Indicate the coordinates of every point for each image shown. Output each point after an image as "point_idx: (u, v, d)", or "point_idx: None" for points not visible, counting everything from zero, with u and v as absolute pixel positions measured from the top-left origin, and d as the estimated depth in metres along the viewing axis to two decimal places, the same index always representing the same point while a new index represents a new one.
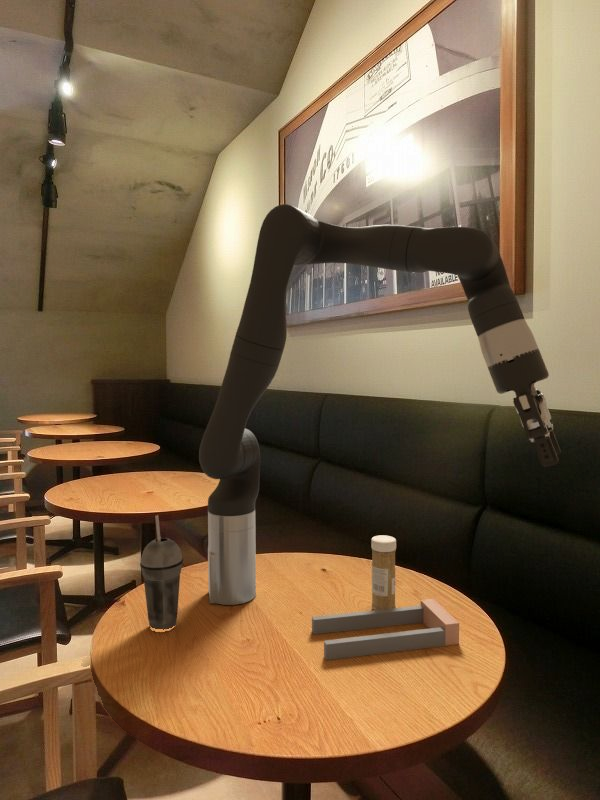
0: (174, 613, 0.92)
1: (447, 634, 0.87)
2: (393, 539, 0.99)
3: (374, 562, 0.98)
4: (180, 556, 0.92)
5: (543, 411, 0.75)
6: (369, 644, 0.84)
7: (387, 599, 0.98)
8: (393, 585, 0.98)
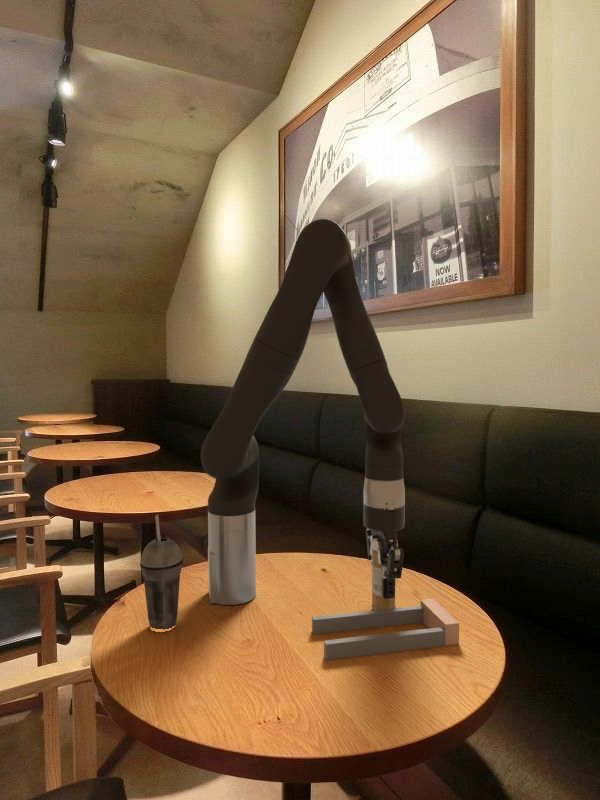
0: (174, 613, 0.92)
1: (447, 634, 0.87)
2: None
3: (374, 562, 0.98)
4: (180, 556, 0.92)
5: None
6: (369, 644, 0.84)
7: (387, 599, 0.98)
8: None
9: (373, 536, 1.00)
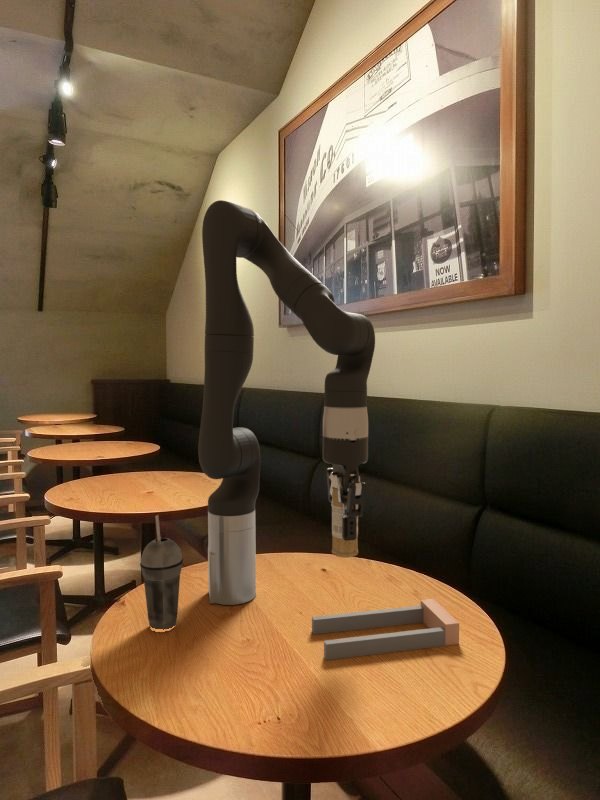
0: (174, 613, 0.92)
1: (447, 634, 0.87)
2: None
3: (334, 501, 0.88)
4: (180, 556, 0.92)
5: None
6: (369, 644, 0.84)
7: (348, 541, 0.88)
8: None
9: (333, 473, 0.90)
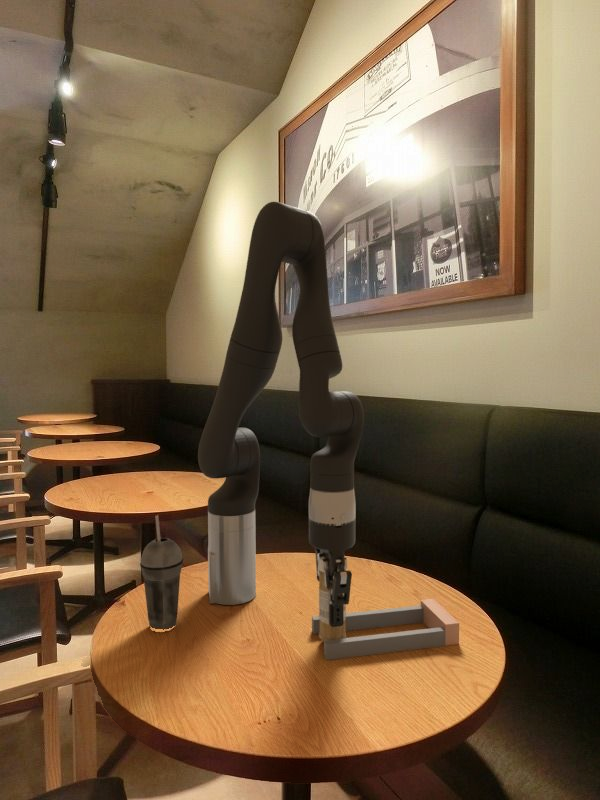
0: (174, 613, 0.92)
1: (447, 634, 0.87)
2: None
3: (321, 585, 0.86)
4: (180, 556, 0.92)
5: None
6: (369, 644, 0.84)
7: (335, 627, 0.85)
8: None
9: (320, 554, 0.87)
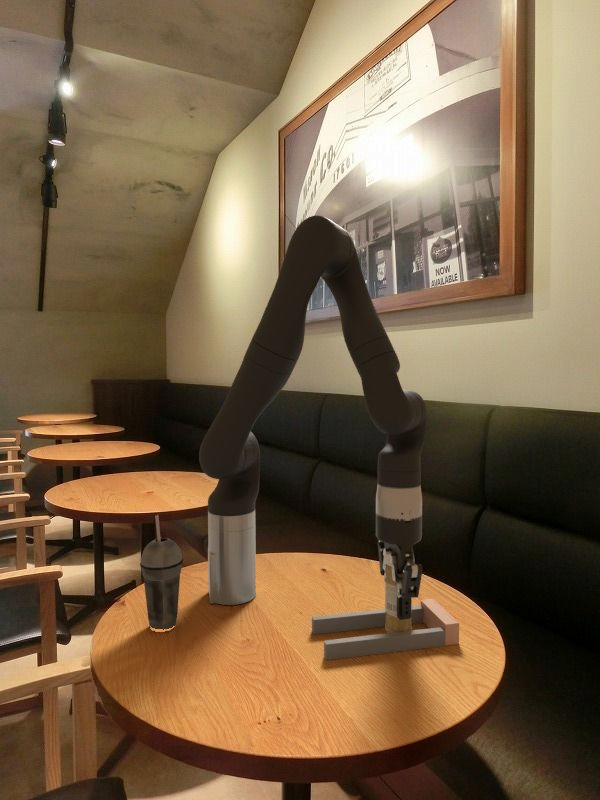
0: (174, 613, 0.92)
1: (447, 634, 0.87)
2: None
3: (388, 578, 0.88)
4: (180, 556, 0.92)
5: None
6: (369, 644, 0.84)
7: (402, 620, 0.88)
8: None
9: (386, 549, 0.90)
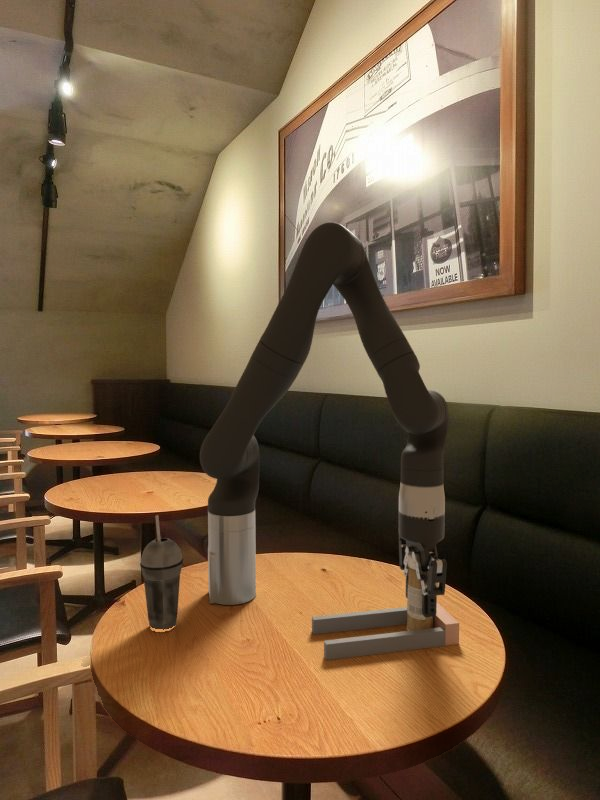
0: (174, 613, 0.92)
1: (447, 634, 0.87)
2: None
3: (411, 581, 0.89)
4: (180, 556, 0.92)
5: None
6: (369, 644, 0.84)
7: (425, 622, 0.89)
8: None
9: (409, 548, 0.91)
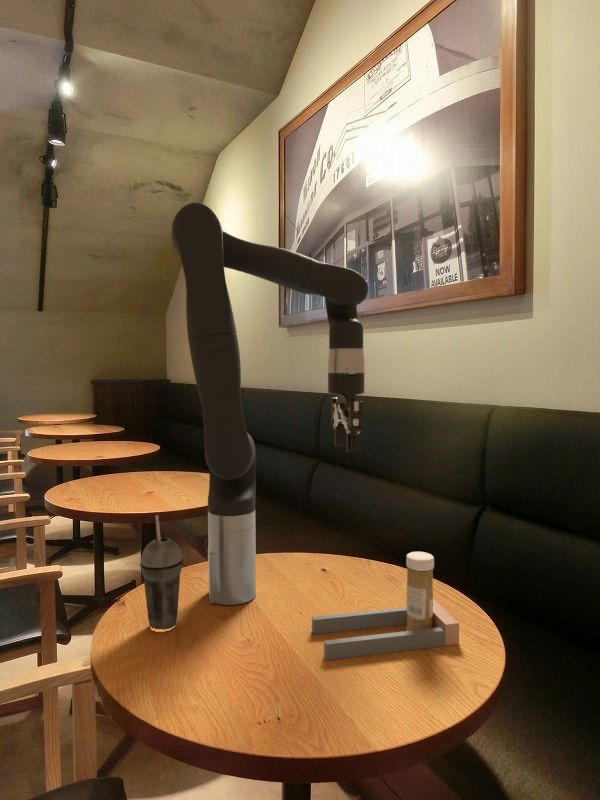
0: (174, 613, 0.92)
1: (447, 634, 0.87)
2: (431, 556, 0.90)
3: (410, 582, 0.89)
4: (180, 556, 0.92)
5: None
6: (369, 644, 0.84)
7: (424, 622, 0.89)
8: (431, 607, 0.89)
9: (337, 404, 1.11)
